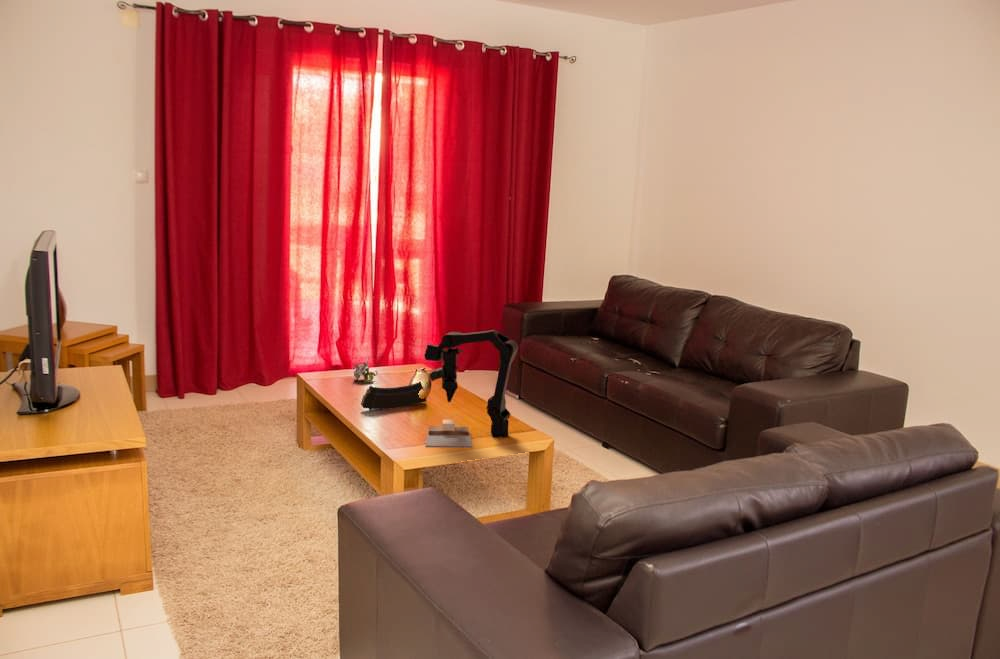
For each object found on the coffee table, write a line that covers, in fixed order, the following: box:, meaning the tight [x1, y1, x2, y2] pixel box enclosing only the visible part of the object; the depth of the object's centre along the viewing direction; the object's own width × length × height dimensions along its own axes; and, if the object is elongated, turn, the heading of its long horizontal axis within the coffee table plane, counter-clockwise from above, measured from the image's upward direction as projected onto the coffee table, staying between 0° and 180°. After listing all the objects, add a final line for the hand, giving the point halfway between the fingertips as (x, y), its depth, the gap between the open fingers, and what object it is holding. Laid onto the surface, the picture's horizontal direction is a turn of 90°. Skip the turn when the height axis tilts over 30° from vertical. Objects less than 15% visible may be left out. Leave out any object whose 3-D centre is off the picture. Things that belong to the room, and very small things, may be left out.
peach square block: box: [441, 419, 456, 431], centre depth 333 cm, size 5×5×3 cm
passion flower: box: [352, 360, 378, 384], centre depth 405 cm, size 11×11×12 cm
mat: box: [425, 434, 473, 448], centre depth 324 cm, size 18×13×1 cm
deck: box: [428, 425, 469, 435], centre depth 333 cm, size 16×6×2 cm, turn 94°
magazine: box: [360, 381, 427, 411], centre depth 364 cm, size 17×3×30 cm
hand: (449, 399), depth 339 cm, fingers open, 6 cm apart
